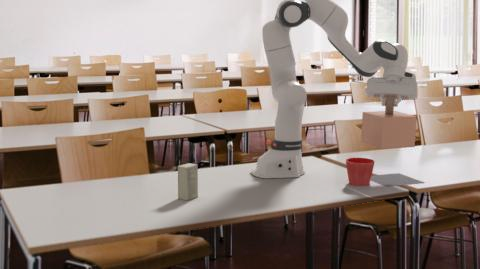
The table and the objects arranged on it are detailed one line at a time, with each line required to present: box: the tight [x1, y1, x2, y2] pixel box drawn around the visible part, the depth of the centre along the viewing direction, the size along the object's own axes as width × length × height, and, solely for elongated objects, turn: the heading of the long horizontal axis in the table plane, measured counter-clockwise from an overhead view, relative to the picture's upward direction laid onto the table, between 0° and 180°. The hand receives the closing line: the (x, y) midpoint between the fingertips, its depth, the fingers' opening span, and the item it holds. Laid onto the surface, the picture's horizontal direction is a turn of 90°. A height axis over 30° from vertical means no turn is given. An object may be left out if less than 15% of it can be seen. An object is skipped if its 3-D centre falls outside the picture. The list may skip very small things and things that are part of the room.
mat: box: [370, 172, 425, 188], centre depth 273 cm, size 18×18×1 cm
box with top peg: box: [360, 96, 417, 150], centre depth 268 cm, size 15×15×19 cm
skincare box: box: [177, 162, 199, 201], centre depth 244 cm, size 6×4×12 cm
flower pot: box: [345, 157, 375, 187], centre depth 265 cm, size 11×11×10 cm
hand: (389, 105), depth 266 cm, fingers closed on box with top peg, 3 cm apart
